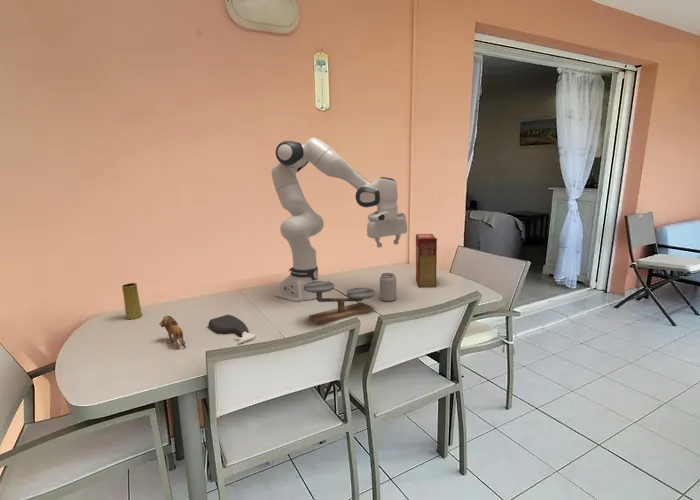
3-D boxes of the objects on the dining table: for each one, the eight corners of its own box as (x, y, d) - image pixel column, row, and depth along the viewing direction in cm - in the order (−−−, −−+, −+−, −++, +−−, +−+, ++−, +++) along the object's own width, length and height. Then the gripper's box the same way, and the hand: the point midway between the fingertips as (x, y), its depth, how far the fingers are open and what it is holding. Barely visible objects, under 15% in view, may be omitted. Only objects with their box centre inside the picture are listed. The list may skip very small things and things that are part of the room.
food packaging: (414, 279, 207) (415, 233, 201) (432, 279, 206) (433, 233, 201) (418, 287, 194) (418, 238, 188) (437, 287, 193) (438, 238, 188)
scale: (300, 319, 158) (298, 284, 154) (364, 302, 174) (363, 271, 171) (314, 328, 148) (312, 292, 145) (380, 310, 165) (380, 277, 162)
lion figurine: (159, 340, 142) (156, 316, 140) (174, 335, 146) (171, 312, 144) (179, 351, 132) (175, 326, 130) (193, 345, 136) (191, 321, 134)
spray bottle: (231, 319, 160) (263, 338, 142) (206, 327, 153) (235, 348, 135) (231, 313, 159) (262, 331, 142) (205, 320, 152) (235, 340, 134)
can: (395, 302, 174) (395, 276, 171) (378, 301, 175) (378, 276, 173) (396, 297, 181) (396, 272, 178) (380, 296, 182) (380, 271, 180)
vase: (124, 316, 165) (119, 284, 162) (140, 313, 169) (135, 281, 166) (127, 320, 160) (122, 288, 157) (143, 317, 164) (139, 284, 161)
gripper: (400, 212, 178) (401, 241, 181) (364, 216, 167) (365, 247, 170) (410, 213, 173) (410, 243, 175) (373, 217, 162) (374, 249, 165)
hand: (387, 245), depth 173 cm, fingers open, 8 cm apart
